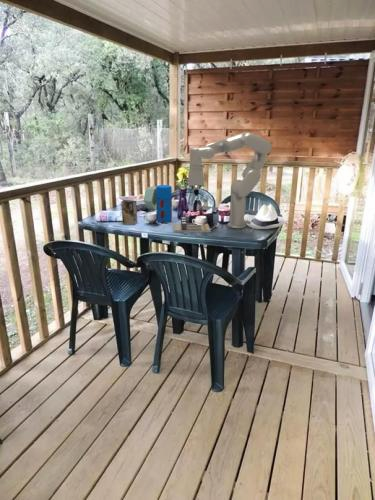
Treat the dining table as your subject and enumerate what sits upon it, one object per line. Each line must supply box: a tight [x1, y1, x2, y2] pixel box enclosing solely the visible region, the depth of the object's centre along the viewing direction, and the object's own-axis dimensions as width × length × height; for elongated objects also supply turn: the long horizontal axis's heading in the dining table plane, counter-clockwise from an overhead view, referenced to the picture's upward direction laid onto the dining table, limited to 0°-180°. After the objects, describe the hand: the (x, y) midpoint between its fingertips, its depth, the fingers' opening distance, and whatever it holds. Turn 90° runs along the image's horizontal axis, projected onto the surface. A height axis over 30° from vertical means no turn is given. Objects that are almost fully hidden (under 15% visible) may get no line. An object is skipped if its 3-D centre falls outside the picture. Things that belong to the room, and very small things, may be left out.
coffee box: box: [120, 199, 138, 226], centre depth 245 cm, size 9×6×16 cm
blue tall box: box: [156, 184, 173, 224], centre depth 250 cm, size 11×11×25 cm
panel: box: [172, 222, 211, 234], centre depth 237 cm, size 24×16×2 cm, turn 94°
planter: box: [143, 185, 157, 211], centre depth 285 cm, size 17×8×21 cm
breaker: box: [182, 221, 187, 229], centre depth 230 cm, size 3×2×4 cm
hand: (196, 195), depth 232 cm, fingers closed
